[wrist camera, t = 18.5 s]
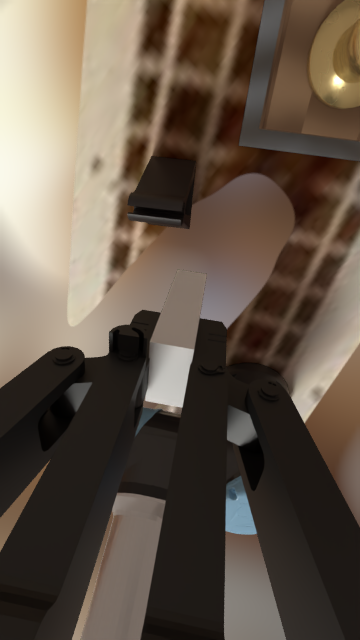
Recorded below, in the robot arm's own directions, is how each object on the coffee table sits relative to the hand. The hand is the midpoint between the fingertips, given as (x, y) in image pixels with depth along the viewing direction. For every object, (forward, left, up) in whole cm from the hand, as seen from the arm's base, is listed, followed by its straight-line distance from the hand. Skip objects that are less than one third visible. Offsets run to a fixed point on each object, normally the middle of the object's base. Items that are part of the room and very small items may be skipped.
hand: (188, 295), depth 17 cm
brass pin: (+14, -10, -30) cm, 35 cm away
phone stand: (-1, +6, -33) cm, 33 cm away
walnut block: (+14, -10, -32) cm, 37 cm away
